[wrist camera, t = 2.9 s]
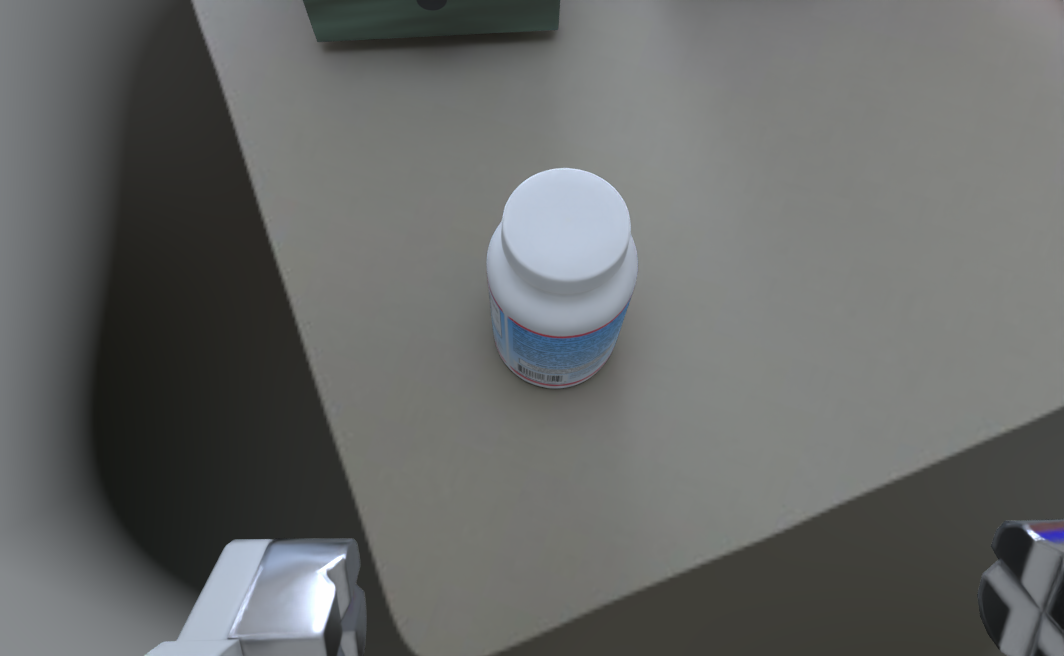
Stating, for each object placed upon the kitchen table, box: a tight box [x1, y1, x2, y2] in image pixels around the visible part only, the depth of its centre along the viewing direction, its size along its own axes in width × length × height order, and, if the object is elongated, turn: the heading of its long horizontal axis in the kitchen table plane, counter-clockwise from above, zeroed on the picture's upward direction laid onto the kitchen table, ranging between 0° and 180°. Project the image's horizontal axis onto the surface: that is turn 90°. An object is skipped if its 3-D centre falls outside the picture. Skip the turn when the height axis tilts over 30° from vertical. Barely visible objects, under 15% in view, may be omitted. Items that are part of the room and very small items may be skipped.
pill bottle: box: [487, 168, 638, 388], centre depth 32 cm, size 6×6×11 cm
